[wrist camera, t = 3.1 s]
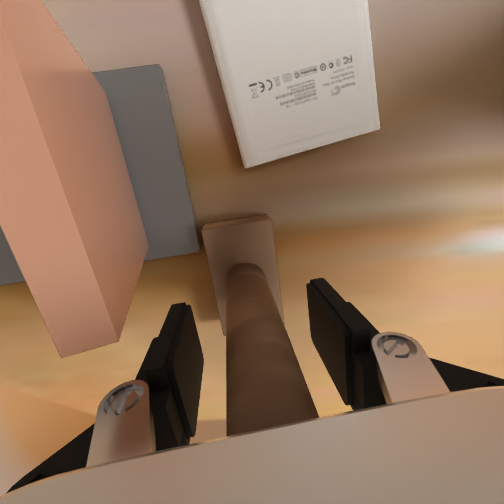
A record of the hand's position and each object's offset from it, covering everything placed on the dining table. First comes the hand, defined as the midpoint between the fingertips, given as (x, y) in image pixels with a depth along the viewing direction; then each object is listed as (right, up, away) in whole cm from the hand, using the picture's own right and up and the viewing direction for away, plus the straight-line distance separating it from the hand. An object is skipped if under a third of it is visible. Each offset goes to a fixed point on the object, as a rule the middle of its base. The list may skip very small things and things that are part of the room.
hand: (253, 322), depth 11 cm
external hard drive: (+2, +15, +3) cm, 16 cm away
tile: (-8, +7, +2) cm, 11 cm away
